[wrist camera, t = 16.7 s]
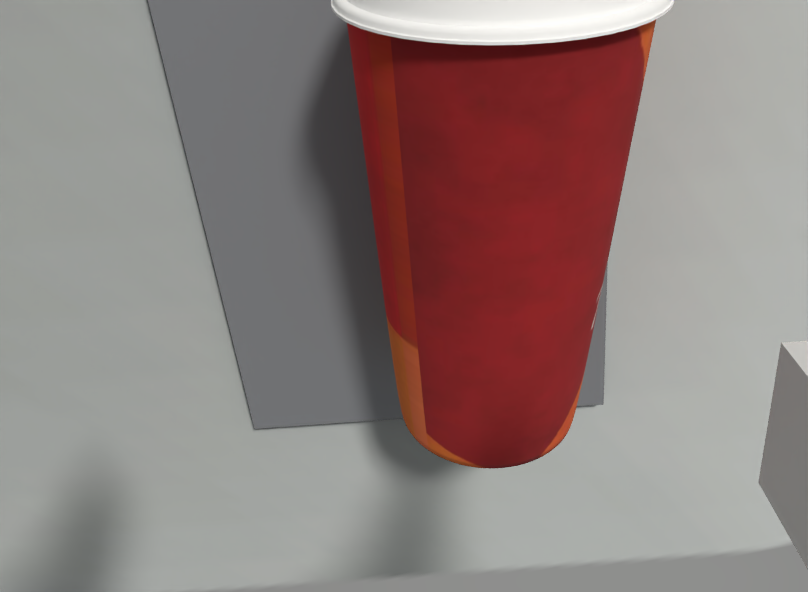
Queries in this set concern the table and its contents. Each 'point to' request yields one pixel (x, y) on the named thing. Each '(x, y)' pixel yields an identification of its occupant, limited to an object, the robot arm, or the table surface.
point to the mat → (291, 206)
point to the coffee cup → (495, 202)
